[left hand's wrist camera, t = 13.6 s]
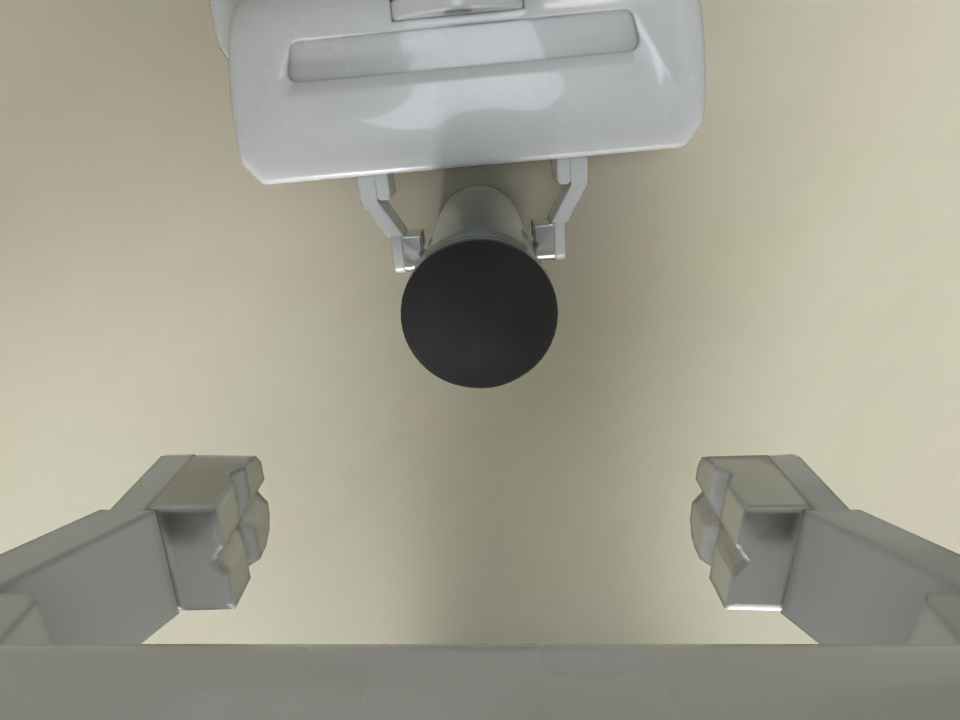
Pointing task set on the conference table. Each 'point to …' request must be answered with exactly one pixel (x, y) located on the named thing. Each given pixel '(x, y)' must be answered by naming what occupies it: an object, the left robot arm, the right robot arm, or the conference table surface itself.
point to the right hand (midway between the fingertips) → (480, 263)
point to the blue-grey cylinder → (479, 214)
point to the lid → (479, 309)
